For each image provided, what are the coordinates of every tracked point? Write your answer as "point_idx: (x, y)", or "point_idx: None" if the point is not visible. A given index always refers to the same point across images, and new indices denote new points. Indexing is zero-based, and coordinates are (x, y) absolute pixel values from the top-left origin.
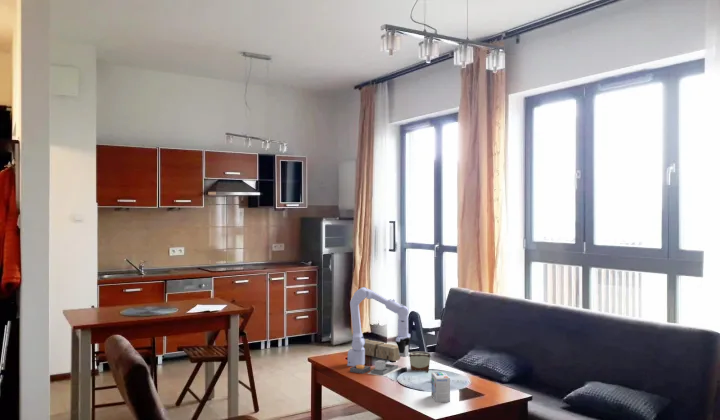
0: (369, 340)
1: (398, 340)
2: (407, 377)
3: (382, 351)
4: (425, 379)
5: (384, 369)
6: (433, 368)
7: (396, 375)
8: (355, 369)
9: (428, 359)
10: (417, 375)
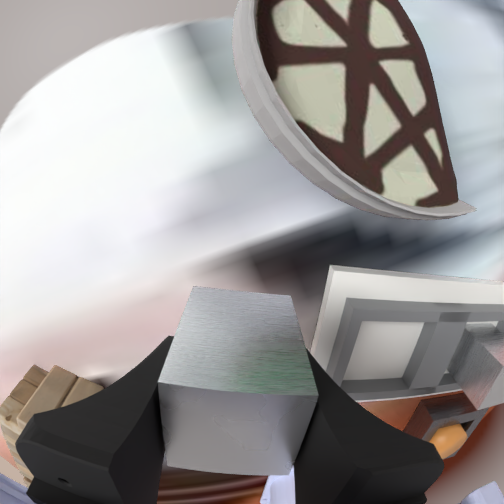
0: None
1: (497, 499)
2: (492, 157)
3: None
4: (483, 38)
5: (480, 334)
6: (162, 26)
7: (471, 243)
8: (467, 435)
9: None
10: None
